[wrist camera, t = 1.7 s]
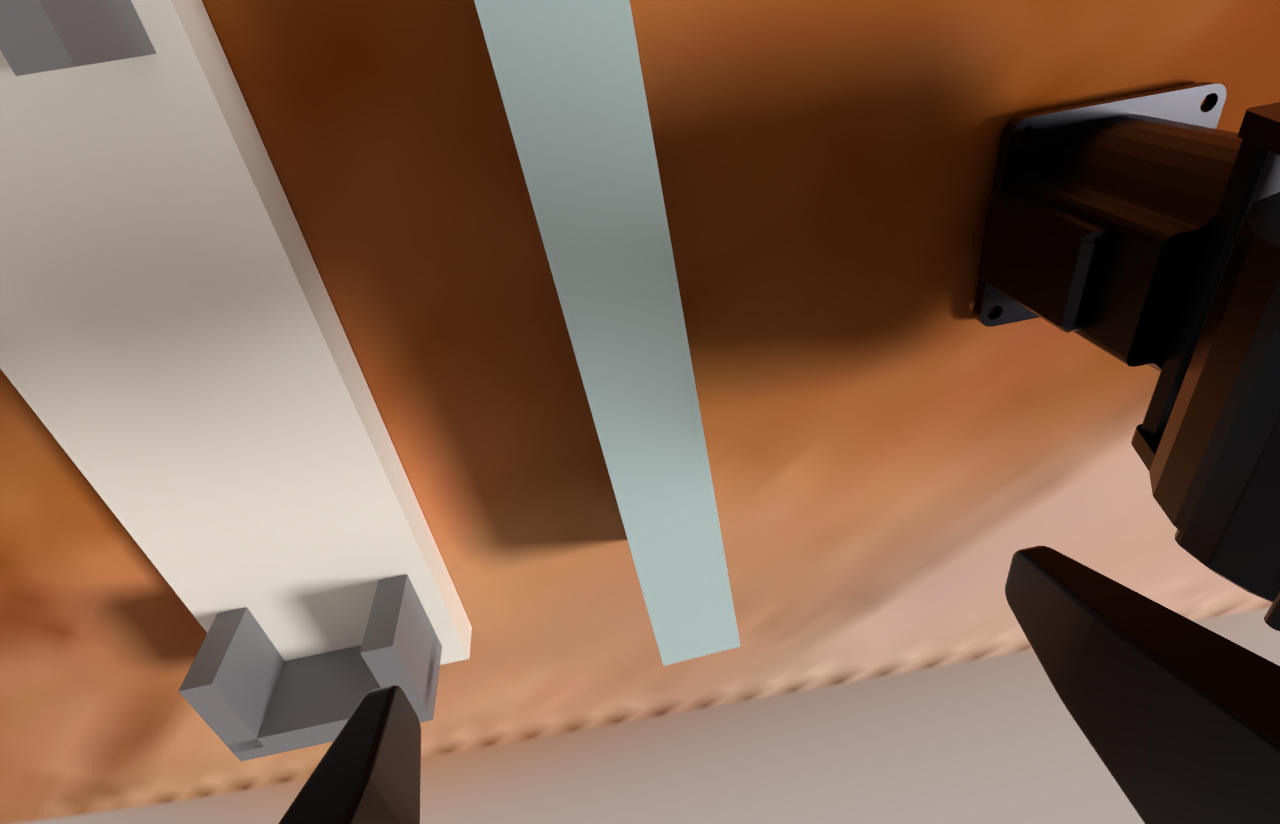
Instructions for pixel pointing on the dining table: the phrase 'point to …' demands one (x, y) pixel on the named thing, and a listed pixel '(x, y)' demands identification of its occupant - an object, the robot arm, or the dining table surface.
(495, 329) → the dining table surface
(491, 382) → the dining table surface
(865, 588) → the dining table surface
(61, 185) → the endcap stand
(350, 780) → the robot arm
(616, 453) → the slat
